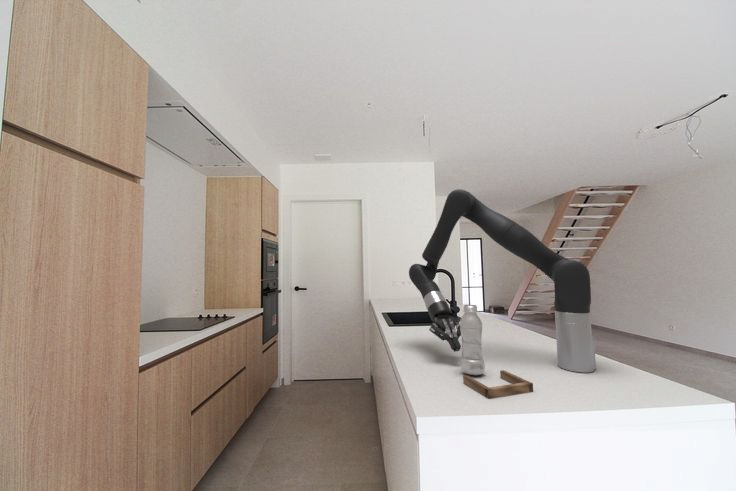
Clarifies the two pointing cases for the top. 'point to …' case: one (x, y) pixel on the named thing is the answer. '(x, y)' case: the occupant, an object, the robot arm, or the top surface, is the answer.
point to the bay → (499, 391)
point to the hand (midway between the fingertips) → (457, 350)
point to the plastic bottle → (471, 342)
